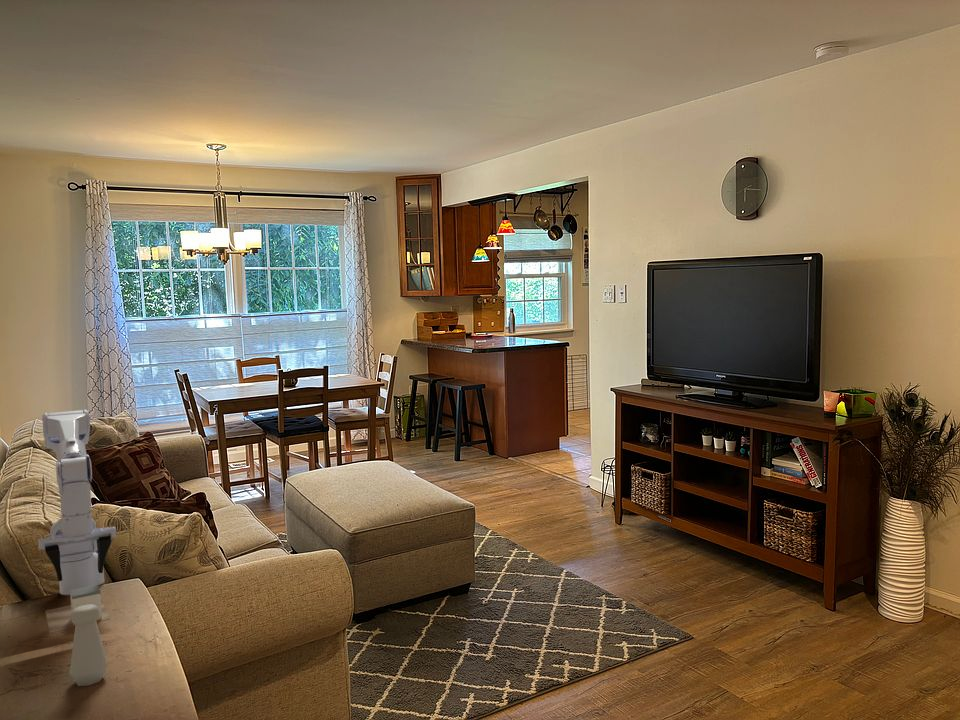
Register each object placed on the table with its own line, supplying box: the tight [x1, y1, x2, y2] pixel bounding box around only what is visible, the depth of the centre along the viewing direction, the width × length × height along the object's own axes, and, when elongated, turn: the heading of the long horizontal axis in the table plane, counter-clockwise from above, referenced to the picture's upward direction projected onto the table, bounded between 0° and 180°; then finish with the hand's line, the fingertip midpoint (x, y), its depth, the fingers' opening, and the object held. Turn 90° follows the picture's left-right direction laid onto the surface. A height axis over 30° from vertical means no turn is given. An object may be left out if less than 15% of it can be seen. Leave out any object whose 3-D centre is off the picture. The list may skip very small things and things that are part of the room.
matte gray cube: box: [69, 584, 102, 625], centre depth 153 cm, size 5×5×6 cm
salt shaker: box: [68, 604, 108, 687], centre depth 126 cm, size 6×6×13 cm
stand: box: [44, 599, 111, 634], centre depth 156 cm, size 16×11×5 cm
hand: (80, 575), depth 155 cm, fingers open, 7 cm apart
